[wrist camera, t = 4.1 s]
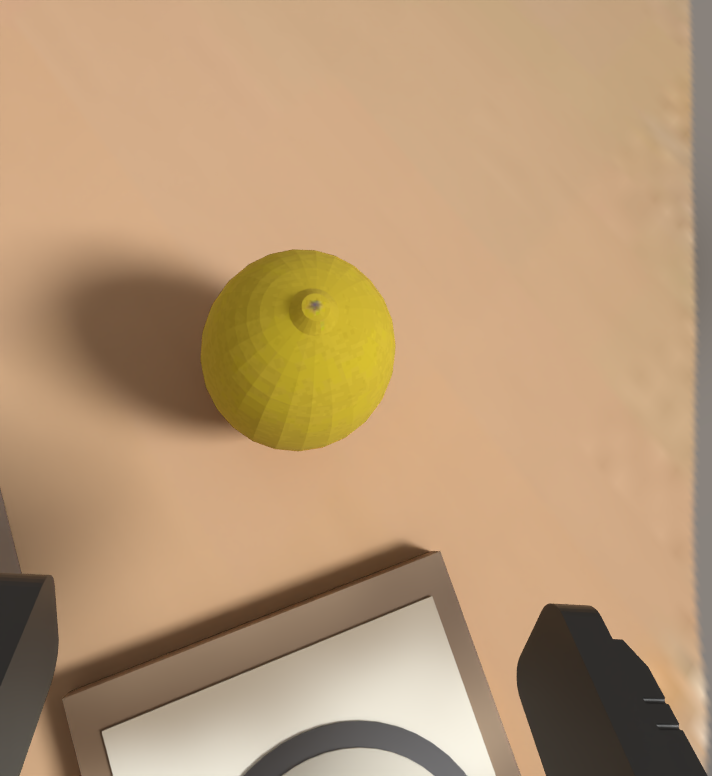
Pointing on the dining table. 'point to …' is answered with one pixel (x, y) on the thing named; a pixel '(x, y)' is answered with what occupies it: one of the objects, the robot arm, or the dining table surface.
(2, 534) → the button housing
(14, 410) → the dining table surface
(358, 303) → the lemon
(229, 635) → the drawing board
